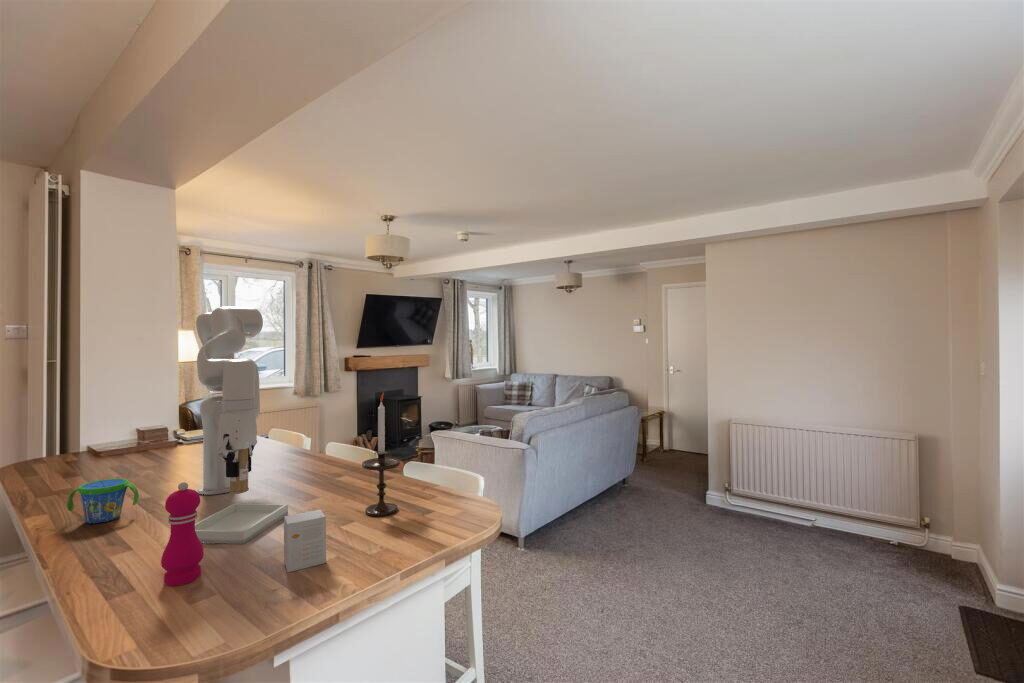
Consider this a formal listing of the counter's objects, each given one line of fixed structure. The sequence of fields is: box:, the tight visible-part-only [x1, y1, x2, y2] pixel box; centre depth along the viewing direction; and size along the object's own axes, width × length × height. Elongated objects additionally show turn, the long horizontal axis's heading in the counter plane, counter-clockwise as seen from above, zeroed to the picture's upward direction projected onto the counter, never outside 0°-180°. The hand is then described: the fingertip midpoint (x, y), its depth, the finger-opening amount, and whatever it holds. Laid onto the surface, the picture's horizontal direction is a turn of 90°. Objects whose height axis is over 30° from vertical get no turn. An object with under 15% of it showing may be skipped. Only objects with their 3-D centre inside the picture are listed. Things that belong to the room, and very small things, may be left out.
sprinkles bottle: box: [228, 442, 249, 495], centre depth 124 cm, size 5×5×14 cm
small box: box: [283, 509, 327, 573], centre depth 103 cm, size 8×6×10 cm
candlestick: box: [361, 391, 401, 518], centre depth 136 cm, size 11×11×35 cm
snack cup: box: [66, 478, 139, 525], centre depth 130 cm, size 16×10×10 cm
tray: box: [195, 502, 289, 545], centre depth 124 cm, size 20×16×3 cm
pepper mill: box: [160, 481, 205, 587], centre depth 97 cm, size 7×7×20 cm
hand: (238, 473), depth 124 cm, fingers closed on sprinkles bottle, 4 cm apart
